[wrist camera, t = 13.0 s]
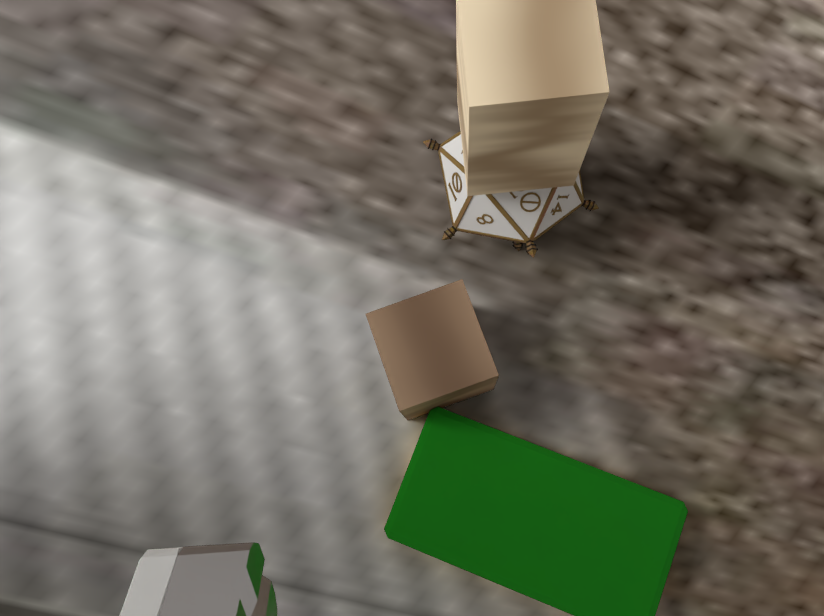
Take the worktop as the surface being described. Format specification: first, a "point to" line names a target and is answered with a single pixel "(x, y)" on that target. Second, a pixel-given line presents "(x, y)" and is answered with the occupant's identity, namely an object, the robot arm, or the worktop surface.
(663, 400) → the worktop surface
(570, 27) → the maple block
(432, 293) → the walnut block
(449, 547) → the dish sponge
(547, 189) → the game die
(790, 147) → the worktop surface
